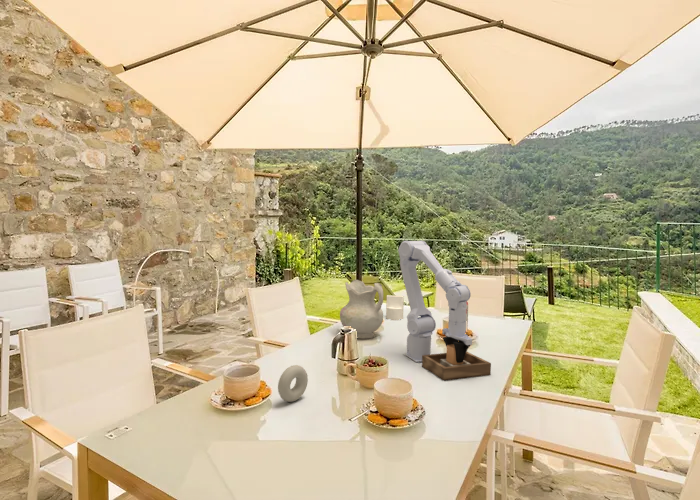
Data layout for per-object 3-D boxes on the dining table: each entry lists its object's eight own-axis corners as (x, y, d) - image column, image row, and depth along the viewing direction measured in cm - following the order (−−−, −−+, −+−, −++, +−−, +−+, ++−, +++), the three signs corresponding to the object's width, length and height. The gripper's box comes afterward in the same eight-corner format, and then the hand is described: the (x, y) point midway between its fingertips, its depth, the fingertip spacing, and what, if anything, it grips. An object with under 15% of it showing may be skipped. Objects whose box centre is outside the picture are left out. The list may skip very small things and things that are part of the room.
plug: (446, 364, 143) (446, 344, 142) (456, 363, 144) (456, 343, 144) (452, 368, 139) (453, 348, 138) (462, 367, 140) (463, 347, 140)
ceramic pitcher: (394, 337, 185) (397, 282, 186) (373, 344, 169) (376, 283, 169) (353, 330, 197) (356, 278, 197) (330, 336, 180) (333, 279, 181)
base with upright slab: (385, 319, 215) (385, 297, 215) (386, 316, 224) (387, 294, 223) (402, 320, 214) (403, 297, 213) (403, 317, 223) (404, 295, 222)
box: (421, 366, 145) (422, 355, 145) (465, 361, 151) (465, 350, 151) (444, 381, 132) (444, 368, 132) (490, 374, 138) (491, 363, 138)
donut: (283, 408, 110) (283, 371, 110) (274, 404, 112) (275, 368, 112) (310, 397, 118) (310, 362, 117) (301, 393, 120) (302, 359, 119)
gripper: (435, 316, 146) (434, 354, 147) (459, 326, 132) (458, 368, 133) (452, 315, 148) (451, 352, 149) (478, 325, 135) (476, 366, 136)
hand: (455, 360), depth 141 cm, fingers closed on plug, 4 cm apart
